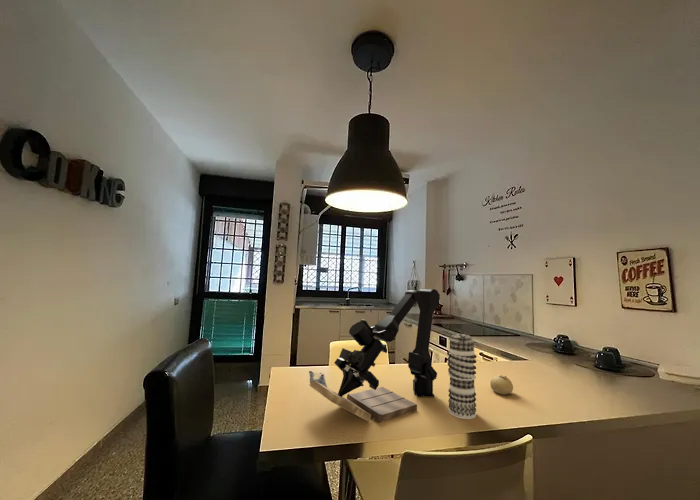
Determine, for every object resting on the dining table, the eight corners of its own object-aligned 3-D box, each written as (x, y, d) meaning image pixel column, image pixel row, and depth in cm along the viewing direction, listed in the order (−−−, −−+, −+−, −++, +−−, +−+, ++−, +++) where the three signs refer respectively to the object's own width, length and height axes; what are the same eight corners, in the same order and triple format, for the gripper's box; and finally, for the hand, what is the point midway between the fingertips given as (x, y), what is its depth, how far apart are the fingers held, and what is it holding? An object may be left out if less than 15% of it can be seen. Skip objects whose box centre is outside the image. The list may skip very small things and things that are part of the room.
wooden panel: (382, 392, 114) (382, 385, 114) (416, 410, 99) (416, 403, 99) (346, 400, 105) (346, 393, 105) (378, 422, 90) (378, 414, 90)
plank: (347, 398, 103) (312, 379, 96) (371, 415, 91) (334, 394, 85) (344, 404, 102) (309, 385, 96) (368, 421, 90) (330, 401, 84)
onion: (487, 392, 115) (486, 373, 116) (494, 387, 121) (493, 369, 122) (509, 398, 110) (509, 379, 111) (515, 392, 116) (515, 374, 116)
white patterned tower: (461, 422, 92) (461, 338, 94) (441, 409, 100) (441, 333, 102) (484, 417, 95) (482, 336, 97) (462, 405, 104) (461, 331, 106)
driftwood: (327, 391, 115) (327, 385, 115) (310, 392, 114) (310, 386, 114) (324, 374, 135) (324, 369, 135) (309, 374, 134) (309, 369, 134)
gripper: (339, 334, 105) (310, 371, 99) (371, 345, 90) (339, 390, 83) (357, 354, 109) (330, 391, 102) (391, 368, 93) (362, 413, 87)
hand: (339, 395), depth 93 cm, fingers closed, pressing on plank
